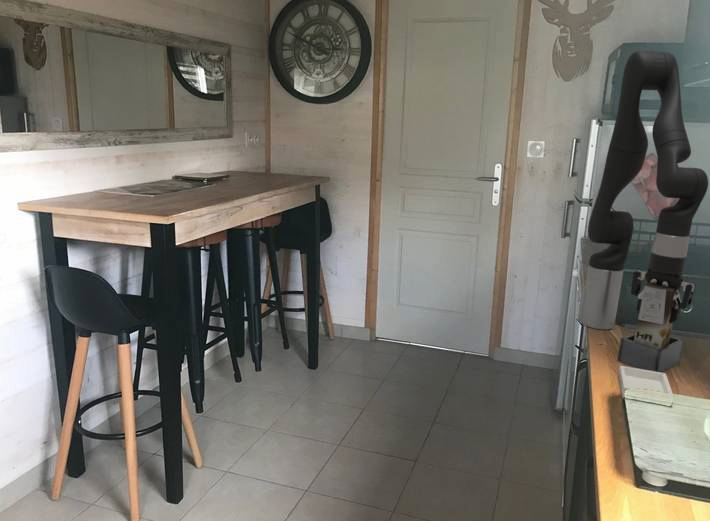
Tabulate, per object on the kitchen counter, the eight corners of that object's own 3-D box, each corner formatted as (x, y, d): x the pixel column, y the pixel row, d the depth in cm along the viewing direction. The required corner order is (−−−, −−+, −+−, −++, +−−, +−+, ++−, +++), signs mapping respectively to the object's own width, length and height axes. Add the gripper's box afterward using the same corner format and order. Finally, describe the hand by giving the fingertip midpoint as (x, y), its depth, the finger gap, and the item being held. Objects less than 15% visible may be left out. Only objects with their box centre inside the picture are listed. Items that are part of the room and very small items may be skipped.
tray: (618, 375, 141) (620, 365, 141) (663, 383, 138) (665, 373, 138) (622, 398, 130) (624, 387, 129) (671, 407, 127) (673, 396, 126)
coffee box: (660, 355, 144) (673, 291, 140) (631, 347, 148) (643, 284, 144) (669, 344, 151) (682, 283, 147) (642, 337, 155) (653, 277, 151)
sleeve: (617, 361, 150) (621, 338, 148) (641, 350, 158) (645, 328, 156) (656, 375, 143) (660, 351, 141) (679, 363, 150) (683, 340, 149)
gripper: (707, 257, 140) (693, 324, 145) (646, 244, 151) (634, 306, 155) (694, 261, 136) (679, 330, 140) (631, 247, 146) (620, 312, 150)
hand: (656, 317), depth 147 cm, fingers closed on coffee box, 7 cm apart
